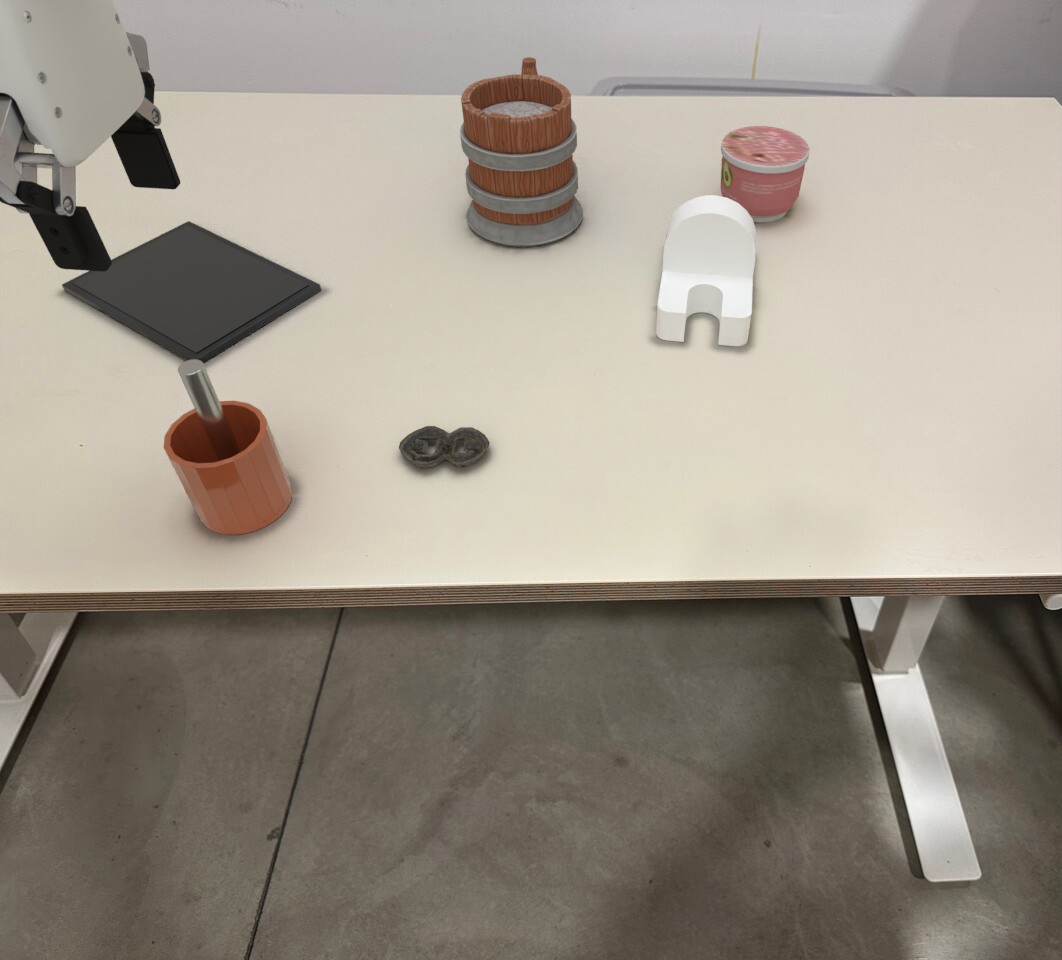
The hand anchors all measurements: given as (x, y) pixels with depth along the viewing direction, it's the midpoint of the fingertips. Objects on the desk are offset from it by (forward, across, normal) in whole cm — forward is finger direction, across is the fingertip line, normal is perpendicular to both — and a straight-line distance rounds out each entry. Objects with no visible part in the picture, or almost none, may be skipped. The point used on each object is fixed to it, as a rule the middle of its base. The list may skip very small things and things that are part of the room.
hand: (123, 224), depth 57 cm
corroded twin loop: (+26, -7, +16) cm, 31 cm away
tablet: (+26, -29, -17) cm, 43 cm away
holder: (+26, 0, 0) cm, 26 cm away
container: (+26, -54, +45) cm, 75 cm away
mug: (+26, -50, +16) cm, 59 cm away
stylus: (+26, 0, 0) cm, 26 cm away
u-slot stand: (+26, -34, +39) cm, 58 cm away
